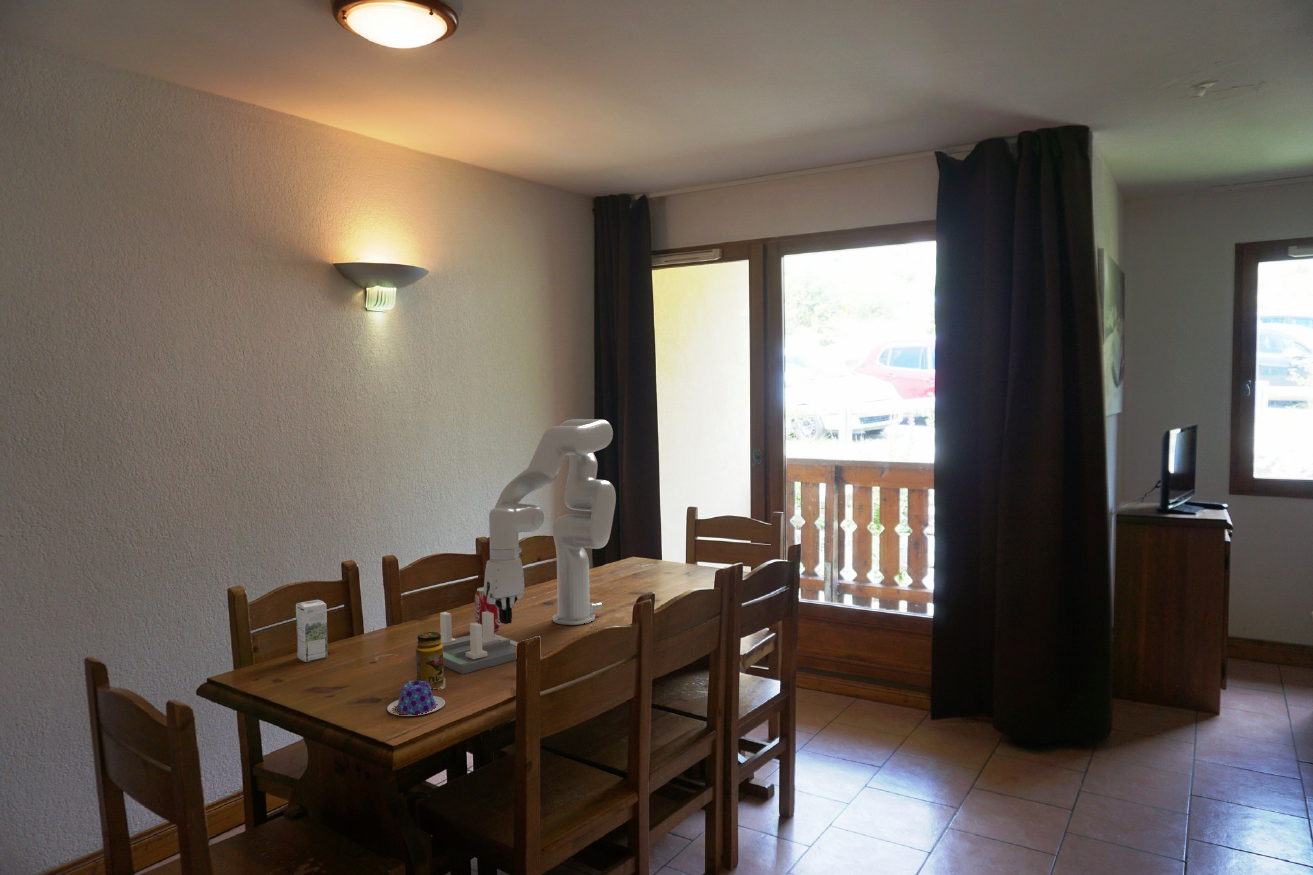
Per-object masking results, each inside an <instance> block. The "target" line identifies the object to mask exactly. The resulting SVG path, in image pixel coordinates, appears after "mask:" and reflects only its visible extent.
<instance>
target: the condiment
mask: <svg viewBox="0 0 1313 875" xmlns="http://www.w3.org/2000/svg"><path fill="white" fill-rule="evenodd" d="M415 657H416V658H415V660H416V665H415V666H416V667H415V668H416V679H411V680H408V683H409V682H413V681H426V682H428V683H429V685H430V686H431V689H433V688H441V689H440V690H445V688H446V678H447V677H445V676H444V675H445V674H444V672H445V671H444V665H443V646H442V644H441V632H440V633H439V632H437V631H426V632H422V633H420V634H418V636H417V646H416V647H415ZM443 684H444V685H443ZM441 686H443V687H441Z"/></svg>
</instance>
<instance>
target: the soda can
mask: <svg viewBox="0 0 1313 875" xmlns="http://www.w3.org/2000/svg"><path fill="white" fill-rule="evenodd" d="M486 611H488V612H491V613H494V632H496V631H497V630H498V629H500V628H501V622H500V620H499V608H497V606H496V605H495V604H489V603H487V597H486V596H485V595H484V586H482V587H478V588H477V589H476V593H475V596H474V619H475V622H474V623H478V624H481V625H482V612H486Z"/></svg>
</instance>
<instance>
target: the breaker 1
mask: <svg viewBox="0 0 1313 875" xmlns="http://www.w3.org/2000/svg"><path fill="white" fill-rule="evenodd" d="M439 620H440V623H439V624H440V626H439V627H440V634H441V644H442V645H446V644H450V643H454V642H457V640H456V639H455V638H453V628H452V627H453V626H452V624H453V623H452V613H451V612H450V613H449V612H448V611H444V612H440V613H439Z"/></svg>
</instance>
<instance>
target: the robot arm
mask: <svg viewBox="0 0 1313 875" xmlns="http://www.w3.org/2000/svg"><path fill="white" fill-rule="evenodd" d="M613 436H614V431H613V428H612V425H611V424H610V422H609V421H607V420H605V419H599V418H598V419H597V418H596V419H595V418H591V419H590V418H589V419H586V418H584V419H583V418H571V419H568V420H564V421H563V422H562V423H561V424H560V425H554V426H549V427H548V428H547V429H546V430H545V431H544V432H543V434H542V436H541V438H540V441H539V443H538V445H537V447H536V450H535V452H534V454H533V456H532V457H531V460H530V462H529V464H528V466H527V468H526V469H524V470H523V471H522V472H520V473H519V474H518V475H517V476H515V477H514V478H513V479H512V480H511V481H510V482H509V483H507V485H506V486H505V487H504V488H503V489H502V491H501V493H500V495H499V497H498V499H497V502H496V504H495V506H494V508H492V509H491V510H490V511H489V514H488V520H489V521H488V525H489V560H486V565H485V570H484V578H483V579H484V582H483V584H484V585H483V587H484V595H485V596H486V597H487V603H489V604H495V605H496V606H497V608H499V620H500V624H504V625H509V624H512V623H513V622H512V619H513V608H514V606H515V604H516V602H517V601H518V600H520V599H522V598H523V597H524V591H525V577H524V568H523V563H522V560H521V557H520V553H522V552H523V548H522V547H520V546H519V534H520V533H532V532H535V531H537V530H539V529H540V528H541V527H542V526H543V524H544V521H545V515H544V512H543V510H542V509H541V508H540V507H539V506H538V505H534V504H529V503H520V502H521V501H522V500H523V499H524V498H525V497H526V496H528V495H530V494H531V493H533V492H535V491H537V490H540V489H543V488H544V487H547V486H549V485H551V484H553V483H555V481H556V479H557V478H558V476H559V473H560V471H561V468H562V466H563V463H564V462H565V459H566V457H567V456H568V459H569V467H568V468H569V469H568V472H567V477H566V483H565V489H564V495H563V496H564V497H563V501H564V505H565V507H567V508H568V509H570V510H573V511H581V512H582V511H583V512H591V515H590V514H589V515H587V514H577V513H567V514H563V515H560V516H558V517H557V518H556V519H555V521H554V523H553V526H552V536H553V537H552V538H553V540H554V542H553V543H554V545H555V552H556V553H555V554H556V555H555V556H556V581H557V582H556V584H557V585H556V586H557V587H556V588H557V589H556V590H557V594H556V595H557V613H555V614H554V615H553V616H552V622H554V623H555V624H559V625H567V626H576V625H584V623H585V624H589V623H591V621H592V622H593V621H595V619H596V614H594V612H595V610H601V609H602V608H603V604H602V602H601V601H600V602H596V603H594V602H591V600H590V598H591V597H590V560H589V556H588V553H587V551H586V550H585V549H595V550H598V549H602V548H604V547H605V546H606V545H607V544H608V542H609V540H610V536H611V533H612V532H611V531H612V526H613V521H614V514H615V509H616V501H617V496H616V488H615V487H614V485H613V484H612V483H611V482H610V481H609V480H605V479H597V474H598V461H597V458H596V456H595V454H594V453H595V452H597V451H601V450H603V449H605V448H607V447H608V446H609V445H610V444H611V442H612V440H613Z"/></svg>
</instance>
